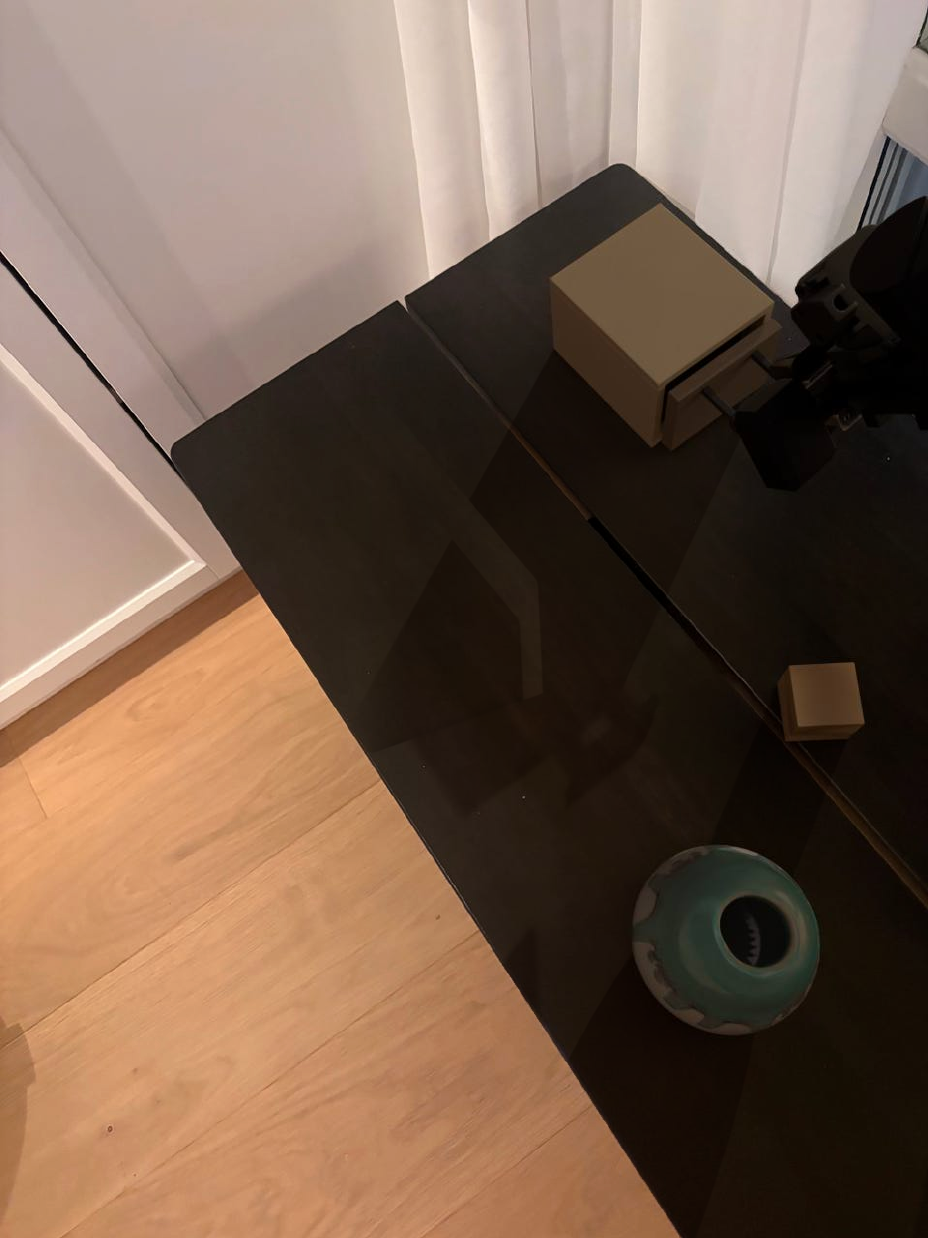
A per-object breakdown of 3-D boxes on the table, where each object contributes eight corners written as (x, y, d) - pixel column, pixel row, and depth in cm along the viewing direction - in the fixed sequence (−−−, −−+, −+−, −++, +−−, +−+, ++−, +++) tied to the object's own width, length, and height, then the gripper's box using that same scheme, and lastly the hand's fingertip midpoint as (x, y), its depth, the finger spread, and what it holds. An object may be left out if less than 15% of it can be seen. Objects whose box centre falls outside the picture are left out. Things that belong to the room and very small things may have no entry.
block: (838, 680, 69) (854, 662, 65) (848, 738, 67) (865, 723, 63) (776, 683, 69) (788, 665, 65) (785, 741, 68) (797, 727, 63)
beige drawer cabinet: (755, 372, 79) (775, 301, 71) (651, 447, 78) (658, 385, 69) (653, 278, 84) (660, 202, 75) (553, 348, 83) (548, 278, 74)
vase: (755, 831, 66) (811, 786, 49) (828, 997, 61) (917, 1009, 45) (604, 884, 66) (608, 857, 49) (666, 1054, 61) (694, 1087, 45)
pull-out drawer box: (805, 418, 76) (826, 365, 69) (708, 489, 75) (720, 442, 68) (668, 293, 82) (675, 233, 75) (577, 357, 81) (576, 302, 74)
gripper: (1027, 137, 50) (820, 191, 64) (789, 343, 47) (628, 352, 61) (1081, 313, 54) (877, 327, 68) (867, 510, 52) (701, 483, 66)
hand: (774, 368), depth 66 cm, fingers closed
